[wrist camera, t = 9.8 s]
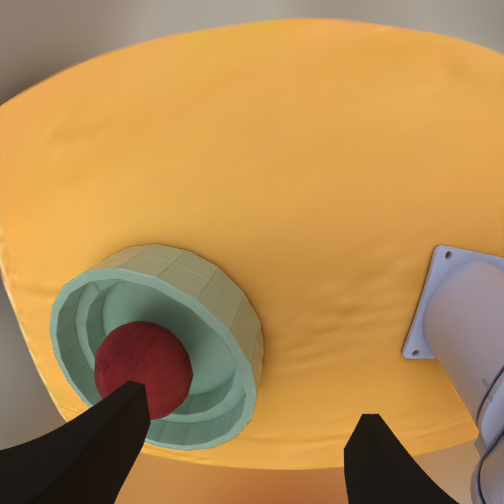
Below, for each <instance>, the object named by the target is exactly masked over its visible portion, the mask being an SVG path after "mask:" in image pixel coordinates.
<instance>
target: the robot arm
mask: <svg viewBox="0 0 504 504" xmlns="http://www.w3.org/2000/svg"><path fill="white" fill-rule="evenodd" d="M448 251H449V255H448V257H447V258H445V254H446V253H447V252H448ZM415 350H417V351H416V352H415V353H413V352H414V351H415ZM402 355H403V357H404V358H407V359H438V361H439V363H440V364H441V366H442V367H443V369H444V371H445V372H446V374H447V375H448V377H449V379H450V380H451V382H452V384H453V385H454V387H455V389H456V390H457V392H458V394H459V395H460V397H461V399H462V400H463V402H464V404H465V406H466V407H467V409H468V411H469V413H470V415H471V416H472V418H473V420H474V422H475V424H476V426H477V427H478V429H479V435H478V438H477V439H476V441H475V446H476V448H477V450H478V452H479V454H480V456H481V459H480V460H479V462H478V463H477V465H476V467H475V469H474V472H473V474H472V479H471V499H472V502H473V504H504V258H503V257H498V256H493V255H489V254H484V253H479V252H475V251H470V250H465V249H460V248H455V247H450V246H445V245H438V246H437V247H436V248H435V249H434V252H433V256H432V260H431V264H430V268H429V271H428V275H427V278H426V282H425V285H424V289H423V292H422V295H421V298H420V302H419V305H418V308H417V311H416V314H415V317H414V319H413V322H412V325H411V328H410V331H409V333H408V336H407V339H406V341H405V344H404V346H403V349H402ZM150 424H151V420H150V414H149V407H148V401H147V394H146V387H145V384H141V383H138V382H134V381H131V380H128V381H127V382H125V383H124V384H122V385H121V386H120V387H118V388H117V389H116V390H114V391H113V392H112V393H110V394H109V395H108V396H106V397H105V398H104V399H102V400H101V401H100V402H98V403H97V404H95V405H94V406H92V407H91V408H89V409H88V410H87V411H85V412H84V413H82V414H81V415H79V416H77V417H76V418H74V419H73V420H71V421H69V422H67V423H66V424H64V425H63V426H61V427H59V428H57V429H55V430H53V431H51V432H49V433H47V434H45V435H43V436H41V437H39V438H36V439H34V440H31V441H29V442H26V443H23V444H20V445H17V446H14V447H11V448H8V449H3V450H0V504H114V502H115V500H116V498H117V495H118V493H119V491H120V489H121V487H122V485H123V483H124V481H125V479H126V477H127V475H128V474H129V472H130V470H131V468H132V466H133V464H134V462H135V460H136V458H137V456H138V454H139V452H140V450H141V448H142V446H143V444H144V441H145V438H146V436H147V433H148V430H149V427H150ZM344 474H345V481H346V488H347V495H348V502H349V504H459V503H458V502H456V501H455V500H454V499H453V498H451V497H450V496H449V495H448V494H447V493H445V492H444V491H443V490H442V489H441V488H440V487H439V486H438V485H437V484H435V482H434V481H432V480H431V478H430V477H429V476H428V475H427V474H426V473H425V472H424V471H423V470H422V469H421V467H420V466H419V465H418V464H417V463H416V462H415V461H414V459H413V458H412V457H411V456H410V454H409V453H408V452H407V451H406V449H405V448H404V447H403V446H402V444H401V443H400V442H399V440H398V439H397V438H396V436H395V435H394V434H393V432H392V431H391V430H390V428H389V427H388V426H387V424H386V423H385V422H384V420H383V419H382V418H381V416H380V415H379V414H362V416H361V418H360V420H359V422H358V424H357V426H356V428H355V430H354V431H353V433H352V435H351V437H350V439H349V441H348V443H347V444H346V446H345V448H344Z"/></svg>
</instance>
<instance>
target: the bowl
mask: <svg viewBox="0 0 504 504" xmlns="http://www.w3.org/2000/svg"><path fill="white" fill-rule="evenodd" d="M134 321H146V322H154V323H157V324H159V325H161V326H163V327H165V328H167V329H169V330H170V331H171V332H172V333H173V334H174V335H175V336H176V337H177V338H178V339H179V340H180V341H181V342H182V344H183V345H184V347H185V349H186V350H187V352H188V354H189V357H190V361H191V365H192V370H193V374H194V375H193V379H192V383H191V387H190V390H189V394H188V397H187V398H186V399H185V401H184V402H183V403H182V404H181V405H180V406H179V407H178V408H177V409H176V410H175V411H173V412H172V413H171V414H170V415H168V416H166V417H164V418H161V419H155V420H151V424H150V427H149V430H148V433H147V436H146V438H145V441H144V442H146V443H149V444H152V445H155V446H158V447H162V448H169V449H177V450H188V451H189V450H198V449H207V448H213V447H216V446H218V445H220V444H222V443H225V442H227V441H229V440H231V439H233V438H235V437H236V436H237V435H238V434H239V433H240V432H241V431H242V430H243V429H244V427H245V426H246V425H247V424H248V423H249V422H250V421H251V419H252V416H253V412H254V408H255V404H256V401H257V397H258V391H259V384H260V378H261V371H262V365H263V358H264V351H265V350H264V349H265V348H264V342H263V336H262V330H261V323H260V320H259V318H258V317H257V315H256V313H255V311H254V309H253V307H252V306H251V304H250V302H249V300H248V298H247V296H246V295H245V293H244V292H243V291H242V290H241V289H240V288H239V287H238V286H237V285H236V284H235V283H234V282H233V281H232V280H231V279H230V278H229V277H228V276H227V275H226V274H225V273H224V272H223V271H222V270H221V269H220V268H219V267H217V266H215V265H214V264H212V263H210V262H208V261H206V260H204V259H203V258H201V257H199V256H197V255H195V254H193V253H192V252H190V251H187V250H183V249H178V248H173V247H169V246H164V245H159V244H149V245H142V246H135V247H128V248H125V249H123V250H121V251H119V252H118V253H116V254H114V255H112V256H111V257H109V258H107V259H105V260H104V261H102V262H100V263H98V264H97V265H95V266H93V267H92V268H90V269H88V270H86V271H85V272H83V273H82V274H80V275H79V276H77V277H75V278H74V279H72V280H71V281H69V282H68V283H66V284H65V285H64V286H63V288H62V290H61V291H60V293H59V295H58V297H57V298H56V300H55V302H54V304H53V306H52V313H51V322H50V335H51V340H52V344H53V349H54V353H55V356H56V359H57V361H58V363H59V365H60V367H61V369H62V371H63V373H64V375H65V377H66V379H67V381H68V383H69V384H70V385H71V387H72V388H73V389H74V390H75V392H76V393H77V394H78V395H79V397H80V398H81V399H82V400H83V402H84V403H85V404H86V405H87V406H88V407H89V408H91V407H92V406H94V405H95V404H97V403H98V402H100V401H101V400H102V398H101V396H100V394H99V392H98V390H97V387H96V384H95V379H94V368H95V356H96V353H97V350H98V348H99V347H100V345H101V344H102V342H103V341H104V340H105V338H106V337H107V336H108V335H109V333H110V332H111V331H112V330H114V329H116V328H117V327H119V326H121V325H124V324H127V323H130V322H134Z"/></svg>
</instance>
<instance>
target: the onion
mask: <svg viewBox="0 0 504 504" xmlns="http://www.w3.org/2000/svg"><path fill="white" fill-rule="evenodd" d="M193 375H194V374H193V370H192V365H191V361H190V357H189V354H188V352H187V350H186V349H185V347H184V345H183V344H182V342H181V341H180V340H179V339H178V338H177V337H176V336H175V335H174V334H173V333H172V332H171V331H170V330H169V329H167V328H165V327H163V326H161V325H159V324H157V323H154V322H146V321H134V322H130V323H127V324H124V325H121V326H119V327H117V328H116V329H114V330H112V331H111V332H110V333H109V335H108V336H107V337H106V338H105V340H104V341H103V342H102V344H101V345H100V347H99V348H98V350H97V353H96V356H95V368H94V379H95V384H96V387H97V390H98V392H99V394H100V396H101V398H102V399H104V398H105V397H106V396H108V395H109V394H110V393H112V392H113V391H114V390H116V389H117V388H118V387H120V386H121V385H122V384H124V383H125V382H127V381H128V380H131V381H134V382H138V383H141V384H145V387H146V394H147V401H148V407H149V414H150V420H155V419H161V418H164V417H166V416H168V415H170V414H171V413H172V412H173V411H175V410H176V409H177V408H178V407H179V406H180V405H181V404H182V403H183V402H184V401H185V399H186V398H187V397H188V394H189V390H190V387H191V383H192V379H193Z"/></svg>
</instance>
